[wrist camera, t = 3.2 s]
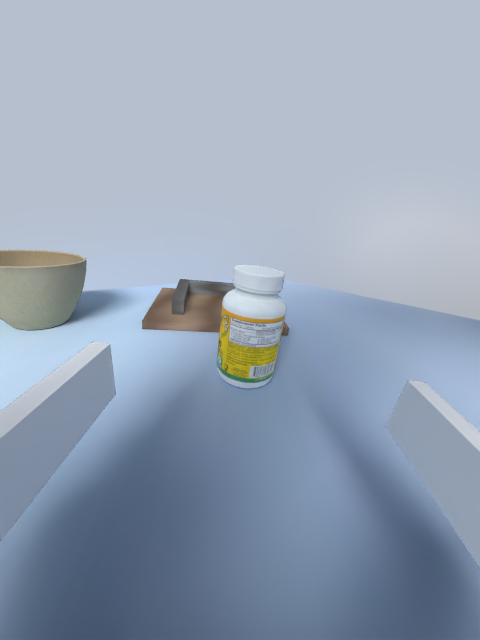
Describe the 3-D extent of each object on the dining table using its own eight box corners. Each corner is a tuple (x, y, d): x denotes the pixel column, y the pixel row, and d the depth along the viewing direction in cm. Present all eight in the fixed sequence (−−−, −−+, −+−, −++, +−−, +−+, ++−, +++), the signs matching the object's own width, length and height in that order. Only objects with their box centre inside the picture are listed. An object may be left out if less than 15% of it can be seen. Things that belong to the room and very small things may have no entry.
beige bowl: (104, 328, 26) (97, 264, 24) (-26, 353, 20) (-58, 269, 17) (83, 301, 33) (75, 249, 30) (-21, 313, 26) (-44, 247, 23)
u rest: (263, 300, 43) (265, 284, 42) (287, 335, 30) (292, 313, 29) (162, 293, 40) (162, 276, 39) (142, 328, 27) (141, 304, 26)
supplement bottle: (266, 398, 19) (289, 282, 15) (206, 379, 20) (213, 268, 16) (276, 364, 24) (296, 270, 20) (228, 351, 25) (237, 260, 21)
